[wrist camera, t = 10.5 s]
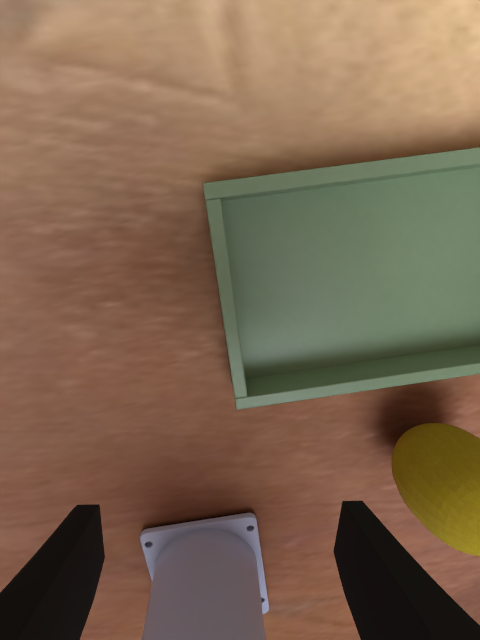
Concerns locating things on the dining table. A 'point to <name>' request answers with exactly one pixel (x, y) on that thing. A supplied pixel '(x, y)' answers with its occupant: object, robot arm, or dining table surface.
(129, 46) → the dining table surface
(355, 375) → the tray
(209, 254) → the dining table surface
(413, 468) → the lemon
